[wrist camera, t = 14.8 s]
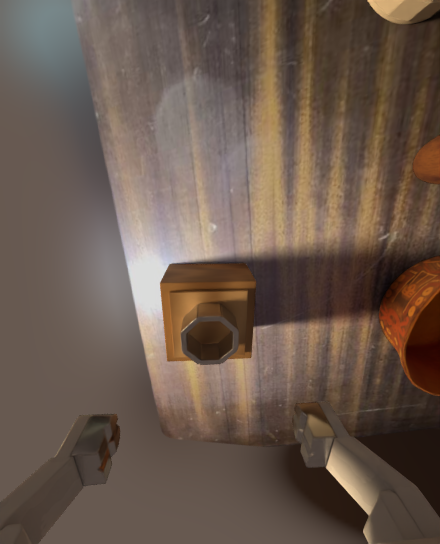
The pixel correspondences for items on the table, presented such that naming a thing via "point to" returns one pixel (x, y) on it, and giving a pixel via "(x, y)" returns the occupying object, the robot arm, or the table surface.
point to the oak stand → (207, 279)
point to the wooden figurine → (428, 162)
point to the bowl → (415, 323)
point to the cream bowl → (406, 10)
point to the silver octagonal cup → (212, 351)
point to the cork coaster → (210, 329)
